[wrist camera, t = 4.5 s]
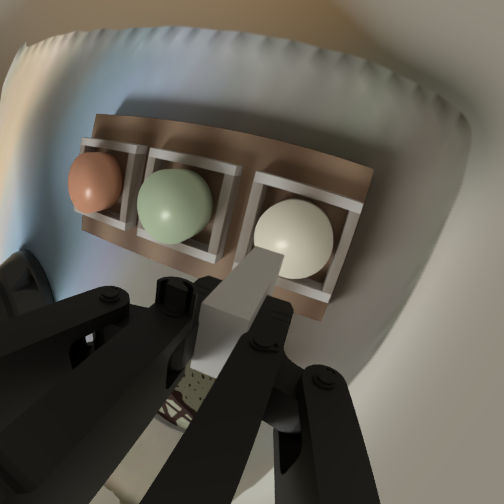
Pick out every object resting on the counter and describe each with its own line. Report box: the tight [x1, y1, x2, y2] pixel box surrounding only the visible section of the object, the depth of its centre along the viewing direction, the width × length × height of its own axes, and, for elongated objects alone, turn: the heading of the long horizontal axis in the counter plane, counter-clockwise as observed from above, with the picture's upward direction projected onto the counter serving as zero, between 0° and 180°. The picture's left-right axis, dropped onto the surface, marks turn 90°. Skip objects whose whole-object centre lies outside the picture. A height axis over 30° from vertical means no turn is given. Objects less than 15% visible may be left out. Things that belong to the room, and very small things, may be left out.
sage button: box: [137, 169, 213, 244], centre depth 23 cm, size 6×6×2 cm
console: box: [74, 114, 374, 321], centre depth 26 cm, size 29×14×5 cm, turn 76°
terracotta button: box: [68, 152, 122, 214], centre depth 25 cm, size 6×6×2 cm
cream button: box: [254, 198, 333, 279], centre depth 22 cm, size 6×6×2 cm
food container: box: [154, 358, 216, 434], centre depth 30 cm, size 12×6×10 cm, turn 28°
